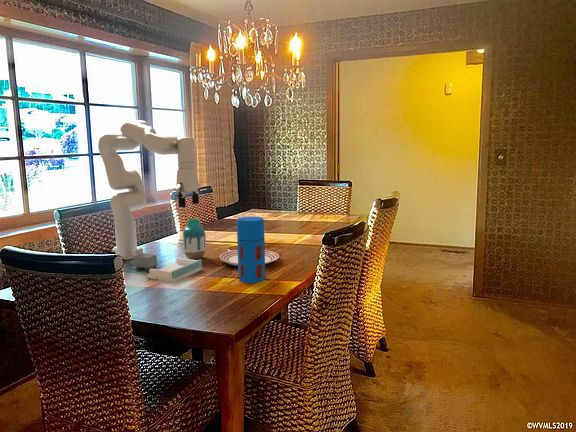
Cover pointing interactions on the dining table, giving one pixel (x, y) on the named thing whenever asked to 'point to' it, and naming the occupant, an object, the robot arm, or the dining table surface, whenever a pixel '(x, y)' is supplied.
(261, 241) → the thermos
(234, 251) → the dinner plate
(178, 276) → the loading dock
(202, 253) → the vase
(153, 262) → the lidded gray box
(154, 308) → the dining table surface
